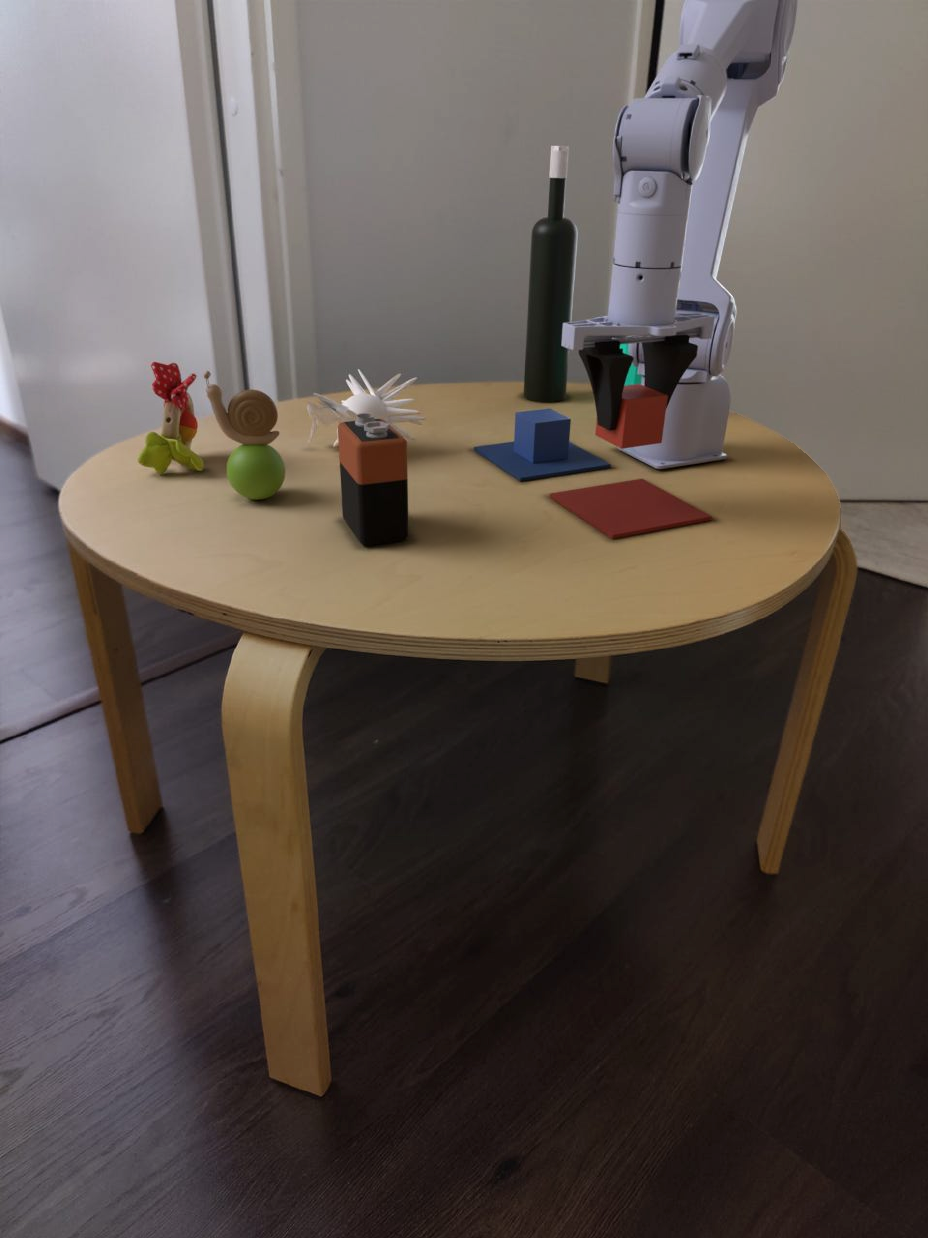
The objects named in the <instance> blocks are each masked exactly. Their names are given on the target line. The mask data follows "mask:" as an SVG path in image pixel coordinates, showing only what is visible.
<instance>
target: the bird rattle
mask: <svg viewBox="0 0 928 1238" xmlns="http://www.w3.org/2000/svg"><path fill="white" fill-rule="evenodd" d="M150 368H151V370H152V373H153V375H154V381H153V382H152V383H151V388H152V390H153V392H154V394H155V395H156V396H157V397H159V398H160V399H163V413H162V421H161V432H160V434H158V433H157V432H155V431H149V432H148V433H147V434H146V435H145V441H144V443H145V446H144V448H143V449H142V450H141V452H140V453H139V456H138V458H137V462H138V464H139V465H140V466H142V467H144V468H145V467H146V468H152V469H154V470H155V472H156V473H157V474H158V475H163V474H164V473H166V472H167V471H168V468H169V467H170V465H171V464H172V461H174V462H176V463H177V464H179V465H182V466H184V467H186V468H188V469H191V470H193V471H199V472H200V471H203V470H204V466H205V464H204V459H202V457H201V456H199V454H197V453H195V452H194V451H193V450H192V449H191V446H192V443H193V439H194V438H195V437H196V435H197V433H198V426H199V424H198V423H199V422H198V419H197V418H196V416H195V407H194V401H193V399H192V396H191V394H190V392H188V389H189V387H190V386H191V385H193V383H194V382H195V380H196V379H197V375H196V373H191V374H190V375H188V377H186V379H185V380H183V381H182V373H181V371H180V368H179V365H178V364H177V363H176V362H171V363H169V364H166V363H161V362H158V361H153V362H152V363H151V364H150Z"/></svg>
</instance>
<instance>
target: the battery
mask: <svg viewBox="0 0 928 1238" xmlns="http://www.w3.org/2000/svg"><path fill="white" fill-rule="evenodd" d="M337 428H338V436H337V438H338V440H339V445H338V456H339V474H340V475H339V476H340V490H341V492H340V493H341V509H342V519H343V520H344V522H345V523H346V525H347V526H348V528H349V529H350V530H351V531H352V533H353V534H354V536H355V537H356V539H357V540H358V542H359V543H360V545H362V546H364V547H366V546H373V545H374V546H375V545H381V544H382V545H383V544H388V543H395V542H402V541H406V540H408V538H409V488H408V486H409V485H408V483H409V480H408V479H409V477H408V475H409V474H408V442H407V439H406V438H405V437H402V436H401V435H400V434H399V433H398V432H397V431H396V430H395V429H394V428H392V427H391V426H390V425H389V424H388V423H387V422H386V421H385V420H383V419H374V415H373V414H370V413H361V414H357V415H356V421H348V422H341V423H340V422H339V423H338V425H337Z"/></svg>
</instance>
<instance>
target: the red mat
mask: <svg viewBox="0 0 928 1238" xmlns="http://www.w3.org/2000/svg"><path fill="white" fill-rule="evenodd" d="M549 498H550V499H551V500H553V501H554V502H556V503H558V504H559V505H561V506H562V507H563V508H565V509H566V510H568V511H569V512H571V513H572V514H574V515H575V516H577V517H579V518H580V519H581V520H583V521H584V522H586V523H588V524H589V525H591V527H594V528H595V529H596V530H598V531H600V532H601V533H602V534H604V535H606V536H607V537H608V538H610V539H611V540H615V539H619V538H625V537H629V536H635V535H640V534H647V533H651V532H656V531H661V530H667V529H673V528H677V527H683V526H687V525H693V524H698V523H703V522H708V521H712V518H713V516H712V515H710V514H709V513H707V512H705V511H703V510H701V509H700V508H697V507H695V506H693V505H692V504H690V503H688V502H686V501H685V500H682V499H681V498H678V497H677V496H675V495H673V494H671V493H669V492H668V491H666V490H664V489H662V488H660V487H658V486H657V485H655V484H653V483H651V482H649V481H647V480H645V479H644V478H637V479H632V480H626V481H619V482H613V483H606V484H600V485H595V486H587V487H581V488H576V489H569V490H564V491H557V492H551V493H549Z"/></svg>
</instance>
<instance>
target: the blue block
mask: <svg viewBox="0 0 928 1238" xmlns="http://www.w3.org/2000/svg"><path fill="white" fill-rule="evenodd" d="M514 414H515V416H514V433H513V435H514V437H513V442H514V452H515V453H517V454H519V455H520V456H522V457H523V458H525V459H527V460H528V461H530V462H531V463H539V462H546V461H553V460H560V459H567V458H568V451H569V442H570V437H571V435H570V434H571V424H572V423H571V422H572V418H570V417H568V416H567V415H564V414H562V413H561V412H558V411H556V410H555V409H553V408H543V409H533V410H526V411H516V412H515V413H514Z"/></svg>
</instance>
